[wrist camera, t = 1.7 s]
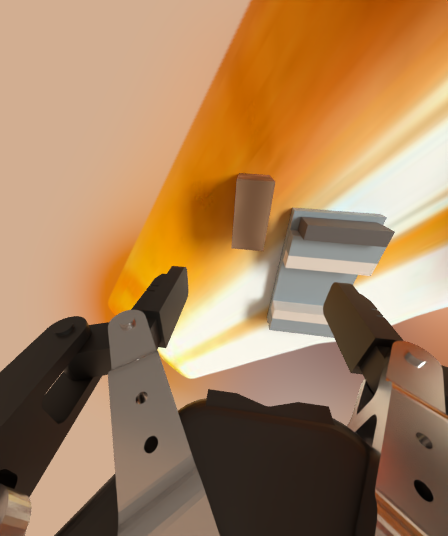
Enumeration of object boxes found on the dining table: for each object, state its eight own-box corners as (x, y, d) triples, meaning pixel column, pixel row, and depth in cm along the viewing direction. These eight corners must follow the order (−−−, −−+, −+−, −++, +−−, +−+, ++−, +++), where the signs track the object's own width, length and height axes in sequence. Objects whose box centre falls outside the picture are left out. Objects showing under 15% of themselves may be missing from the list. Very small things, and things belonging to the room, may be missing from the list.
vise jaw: (293, 215, 26) (299, 224, 23) (385, 223, 25) (403, 232, 22) (282, 260, 30) (286, 272, 27) (362, 267, 29) (375, 281, 26)
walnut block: (235, 229, 30) (231, 248, 24) (239, 173, 26) (236, 179, 20) (260, 231, 30) (263, 251, 24) (269, 175, 25) (275, 181, 19)
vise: (292, 207, 27) (298, 215, 24) (380, 214, 26) (399, 223, 23) (266, 317, 39) (268, 332, 35) (327, 324, 38) (335, 340, 34)
